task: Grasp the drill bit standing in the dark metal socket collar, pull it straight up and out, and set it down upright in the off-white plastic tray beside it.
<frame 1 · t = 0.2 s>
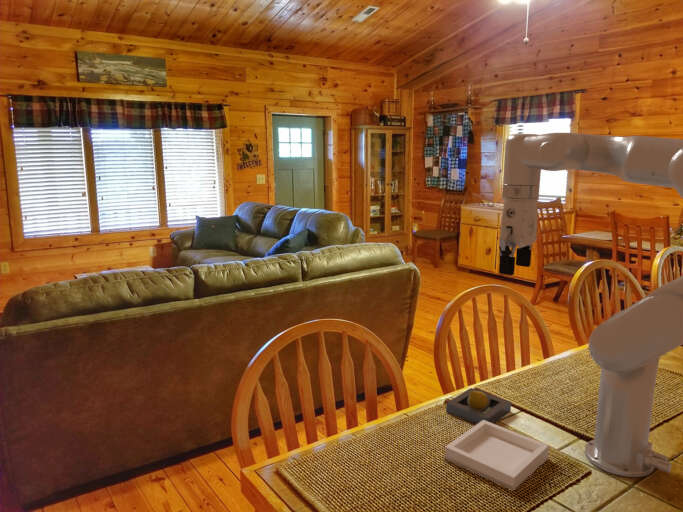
hand: (514, 270, 119), 36 cm above the table, fingers open, 9 cm apart
socket collar: (478, 411, 129), on the table
tray: (496, 459, 110), on the table
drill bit: (478, 412, 129), on the table
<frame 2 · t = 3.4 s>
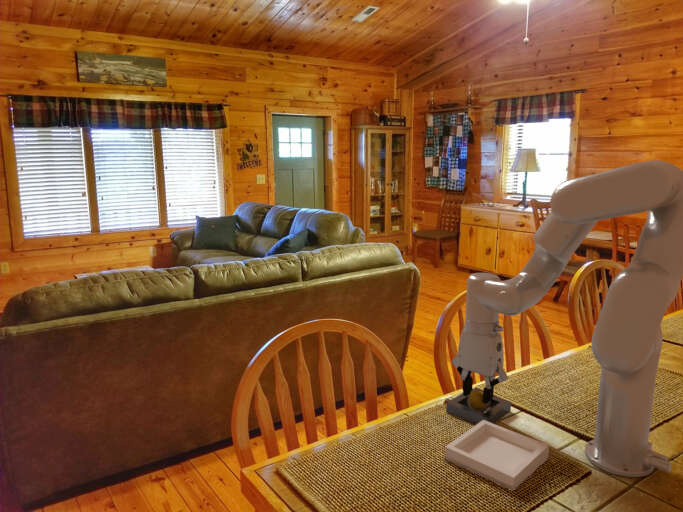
hand: (477, 397, 129), 4 cm above the table, fingers closed on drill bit, 4 cm apart
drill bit: (478, 412, 129), on the table, touching gripper
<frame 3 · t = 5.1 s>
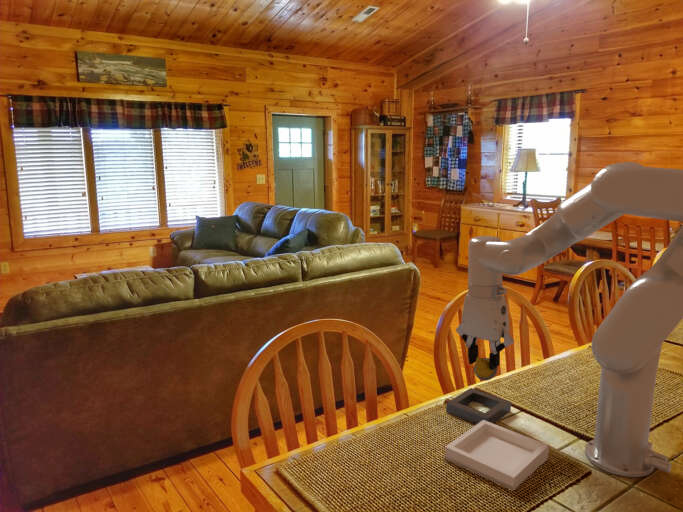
hand: (483, 364, 126), 12 cm above the table, fingers closed on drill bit, 4 cm apart
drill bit: (485, 380, 127), point 9 cm above the table, touching gripper
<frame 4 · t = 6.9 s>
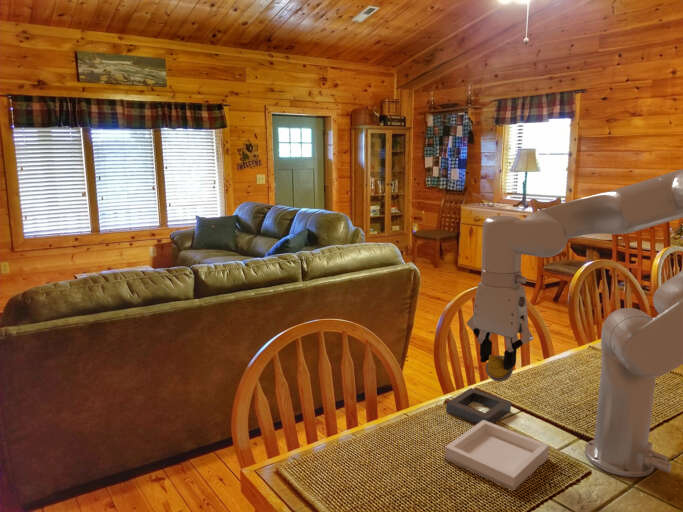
hand: (497, 363, 110), 19 cm above the table, fingers closed on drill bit, 4 cm apart
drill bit: (499, 381, 111), point 15 cm above the table, touching gripper
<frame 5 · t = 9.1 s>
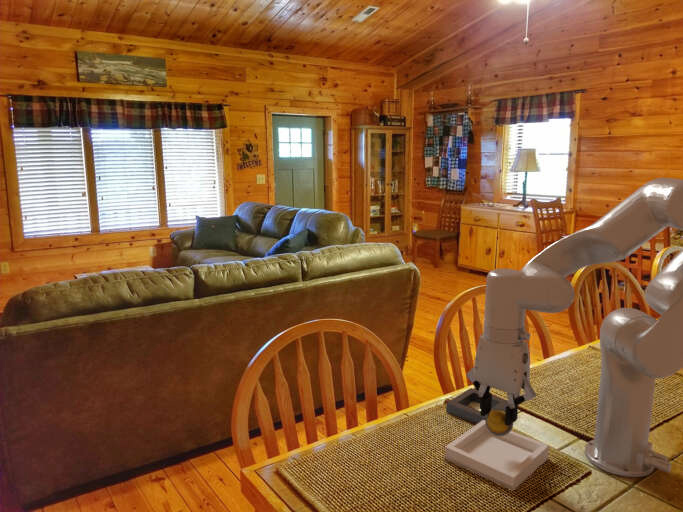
hand: (497, 417, 108), 9 cm above the table, fingers closed on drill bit, 4 cm apart
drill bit: (498, 436, 108), point 5 cm above the table, touching gripper
when the fingers open (6 cm above the table, at t = 10.5 s): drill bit drops 2 cm, resting on tray.
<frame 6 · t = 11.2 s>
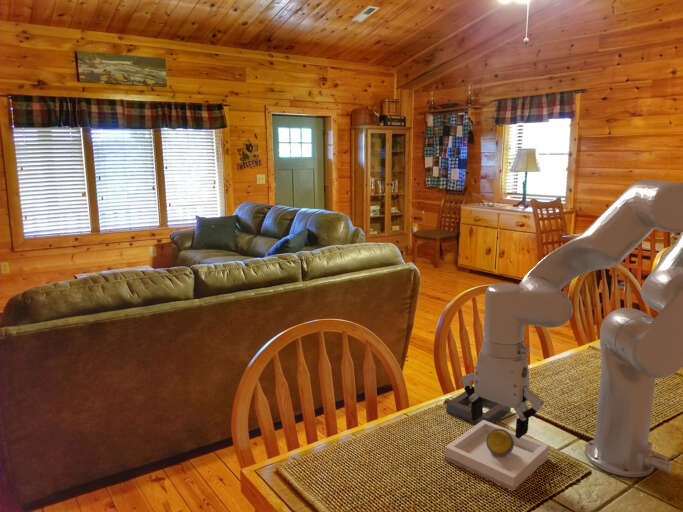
hand: (498, 426, 108), 7 cm above the table, fingers open, 9 cm apart
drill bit: (499, 456, 109), point 1 cm above the table, touching tray
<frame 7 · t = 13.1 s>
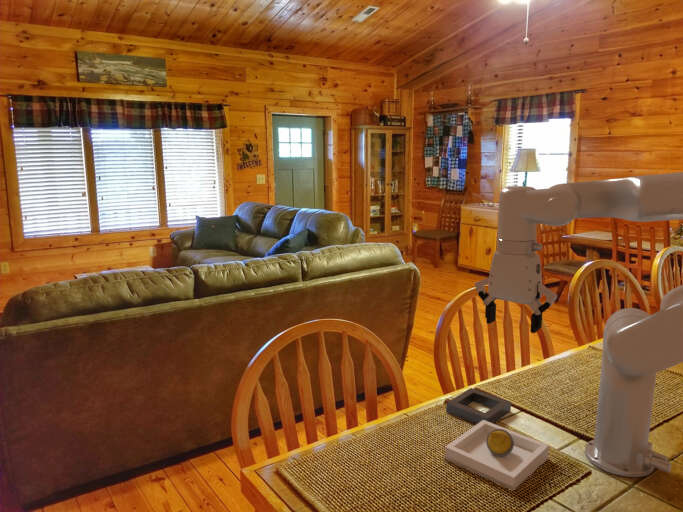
hand: (512, 326, 113), 25 cm above the table, fingers open, 9 cm apart
nothing on the table moved.
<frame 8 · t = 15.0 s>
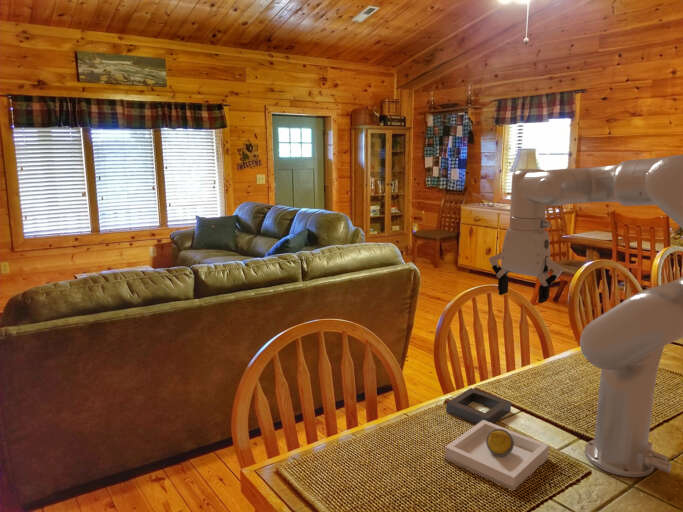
hand: (522, 297, 124), 28 cm above the table, fingers open, 9 cm apart
nothing on the table moved.
at the end: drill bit inside the target area on the tray (0.6 cm from its centre), point 0.8 cm above the tray's base; the gripper is holding nothing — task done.
